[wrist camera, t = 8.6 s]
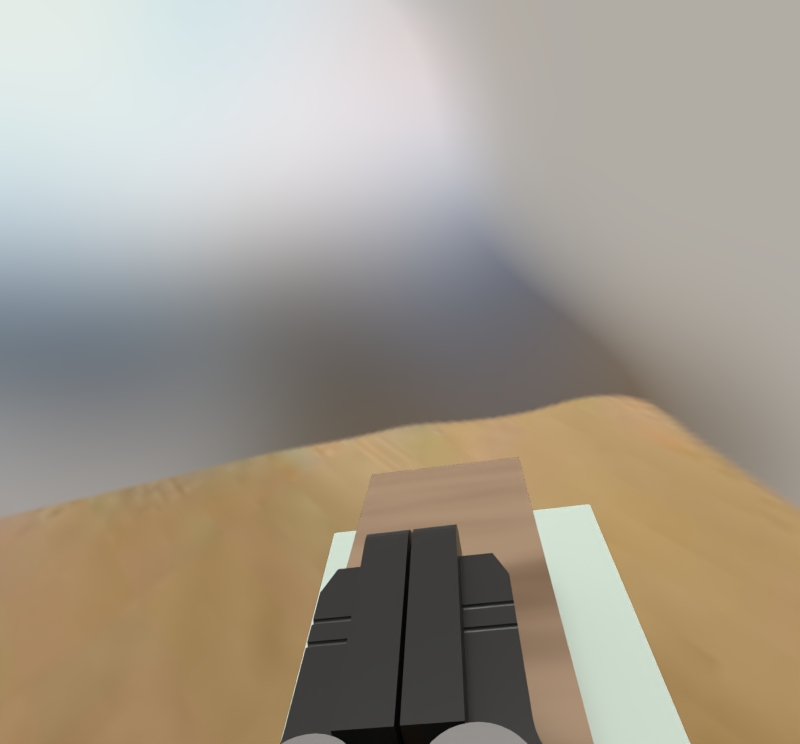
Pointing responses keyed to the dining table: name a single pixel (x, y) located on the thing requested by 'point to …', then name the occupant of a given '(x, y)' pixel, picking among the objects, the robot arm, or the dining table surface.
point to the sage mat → (590, 631)
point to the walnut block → (514, 548)
